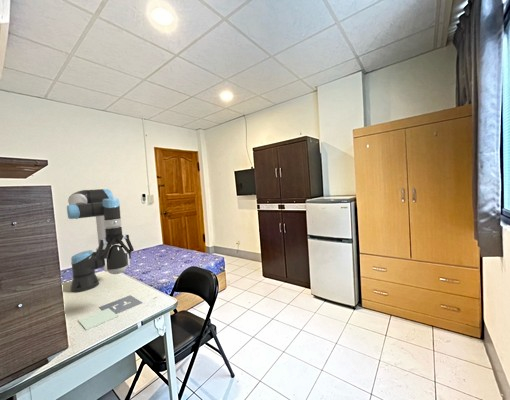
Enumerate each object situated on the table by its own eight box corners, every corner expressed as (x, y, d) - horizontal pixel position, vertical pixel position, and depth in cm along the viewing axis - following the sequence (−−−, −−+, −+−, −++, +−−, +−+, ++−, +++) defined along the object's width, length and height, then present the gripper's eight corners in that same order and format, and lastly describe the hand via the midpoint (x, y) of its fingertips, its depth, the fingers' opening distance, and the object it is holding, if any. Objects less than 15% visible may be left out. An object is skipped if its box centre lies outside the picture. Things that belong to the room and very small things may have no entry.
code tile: (99, 307, 122) (98, 307, 122) (130, 295, 135) (130, 295, 135) (109, 316, 112) (109, 316, 112) (142, 302, 125) (142, 302, 125)
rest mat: (78, 320, 110) (78, 320, 110) (108, 308, 120) (108, 308, 120) (86, 330, 102) (86, 329, 102) (118, 316, 112) (118, 315, 112)
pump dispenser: (133, 269, 126) (130, 242, 125) (116, 276, 116) (113, 247, 115) (119, 268, 129) (116, 242, 128) (102, 275, 119) (99, 247, 119)
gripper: (90, 231, 110) (94, 276, 111) (138, 224, 128) (141, 262, 129) (85, 230, 115) (90, 273, 116) (132, 223, 132) (136, 260, 134)
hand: (117, 267), depth 122 cm, fingers closed on pump dispenser, 10 cm apart
